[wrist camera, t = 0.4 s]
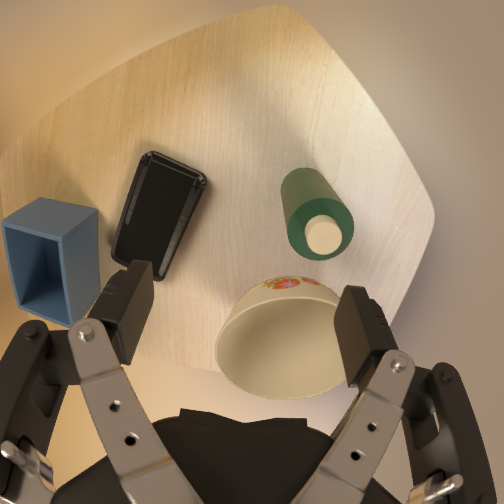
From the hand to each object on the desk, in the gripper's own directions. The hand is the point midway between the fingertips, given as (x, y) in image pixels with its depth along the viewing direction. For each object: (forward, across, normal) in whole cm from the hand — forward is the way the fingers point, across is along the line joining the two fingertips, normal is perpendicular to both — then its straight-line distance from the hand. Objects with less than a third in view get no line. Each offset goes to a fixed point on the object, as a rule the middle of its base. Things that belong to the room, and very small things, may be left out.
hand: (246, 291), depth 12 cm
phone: (+22, +11, +8) cm, 26 cm away
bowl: (+21, -7, +18) cm, 28 cm away
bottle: (+22, -6, +3) cm, 23 cm away
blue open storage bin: (+22, +24, +14) cm, 36 cm away
